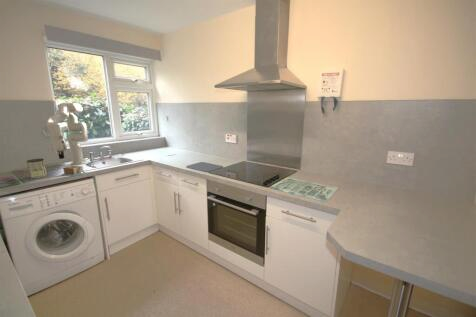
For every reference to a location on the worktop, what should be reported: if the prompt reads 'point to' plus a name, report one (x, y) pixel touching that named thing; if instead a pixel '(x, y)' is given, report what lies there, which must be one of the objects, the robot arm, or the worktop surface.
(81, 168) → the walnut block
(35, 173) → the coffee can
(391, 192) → the worktop surface
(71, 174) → the mat
